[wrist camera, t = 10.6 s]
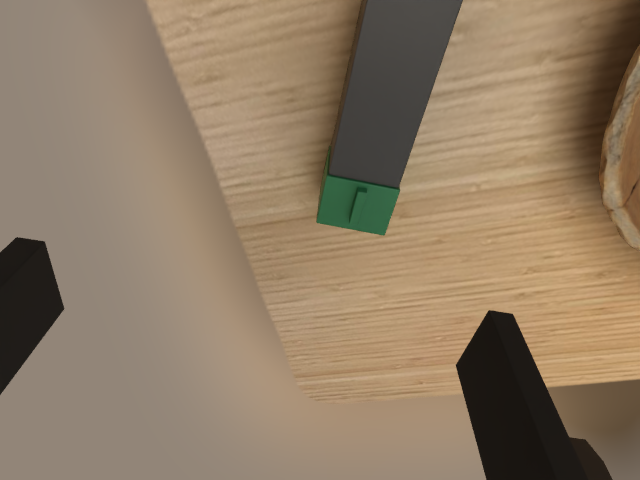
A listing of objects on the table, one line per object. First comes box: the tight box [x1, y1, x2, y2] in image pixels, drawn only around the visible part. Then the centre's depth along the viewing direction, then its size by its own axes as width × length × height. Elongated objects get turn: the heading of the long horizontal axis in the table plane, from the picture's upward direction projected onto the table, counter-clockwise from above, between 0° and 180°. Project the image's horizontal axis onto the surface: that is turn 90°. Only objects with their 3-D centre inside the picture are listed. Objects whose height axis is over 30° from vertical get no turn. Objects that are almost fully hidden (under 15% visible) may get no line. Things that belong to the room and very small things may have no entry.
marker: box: [316, 0, 463, 235], centre depth 24 cm, size 15×5×5 cm, turn 169°
